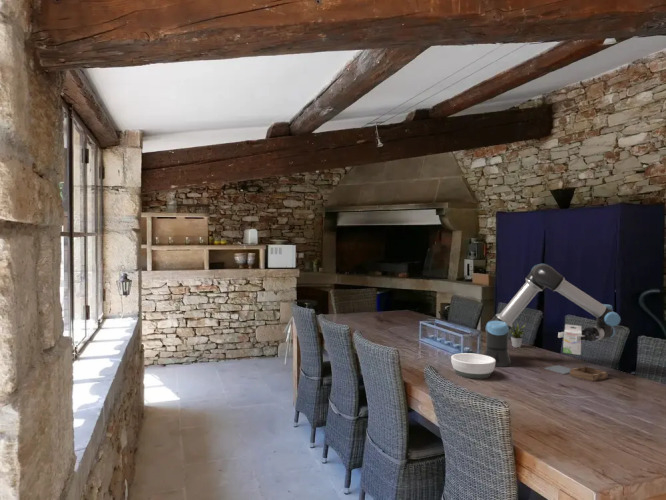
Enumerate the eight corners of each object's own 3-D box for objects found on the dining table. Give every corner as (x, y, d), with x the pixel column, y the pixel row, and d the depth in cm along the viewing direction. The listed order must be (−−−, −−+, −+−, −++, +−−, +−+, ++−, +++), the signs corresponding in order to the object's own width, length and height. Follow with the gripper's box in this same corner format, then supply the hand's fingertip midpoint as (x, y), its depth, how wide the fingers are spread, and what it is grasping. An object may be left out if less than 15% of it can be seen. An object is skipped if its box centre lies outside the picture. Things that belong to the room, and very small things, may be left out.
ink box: (562, 352, 262) (563, 325, 262) (563, 351, 267) (564, 324, 266) (580, 355, 258) (582, 327, 258) (581, 353, 263) (582, 325, 262)
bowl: (497, 381, 244) (498, 365, 244) (451, 378, 249) (451, 362, 248) (492, 369, 266) (492, 354, 266) (450, 366, 271) (450, 351, 270)
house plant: (501, 347, 320) (501, 322, 320) (504, 343, 333) (505, 319, 332) (524, 350, 314) (525, 324, 313) (527, 345, 326) (527, 321, 325)
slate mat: (564, 374, 259) (564, 373, 259) (544, 368, 269) (544, 367, 269) (578, 371, 265) (578, 370, 265) (558, 366, 275) (558, 365, 275)
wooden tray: (592, 381, 247) (592, 375, 247) (570, 374, 258) (570, 369, 258) (607, 378, 253) (607, 372, 253) (584, 371, 264) (584, 366, 264)
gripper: (612, 344, 261) (586, 348, 251) (574, 336, 281) (548, 339, 270) (613, 330, 261) (587, 333, 250) (575, 323, 281) (549, 326, 270)
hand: (567, 336), depth 260 cm, fingers closed on ink box, 9 cm apart
